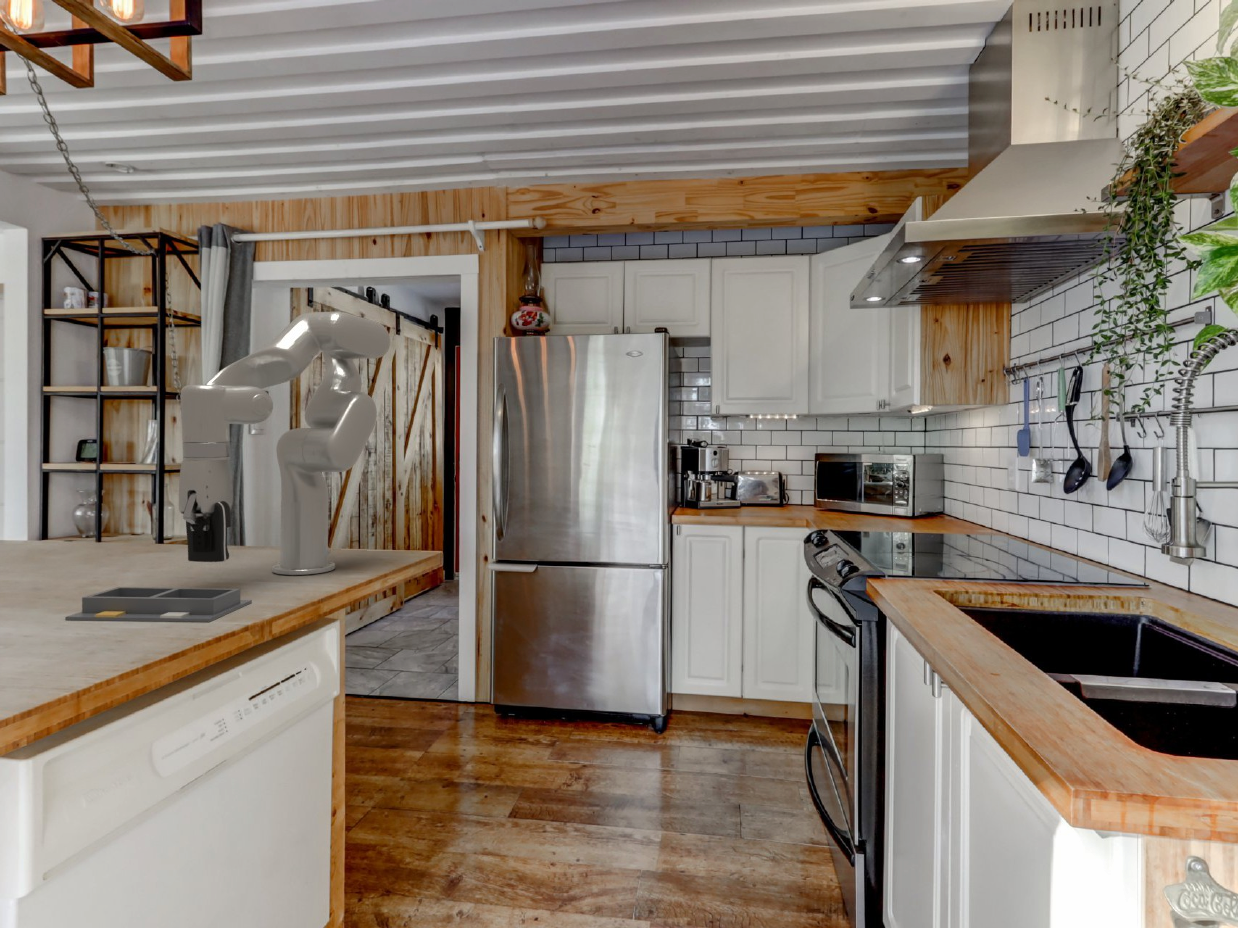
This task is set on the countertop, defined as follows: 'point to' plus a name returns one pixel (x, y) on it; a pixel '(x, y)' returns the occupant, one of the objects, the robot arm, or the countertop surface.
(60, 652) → the countertop surface
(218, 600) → the dock
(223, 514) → the battery charger
